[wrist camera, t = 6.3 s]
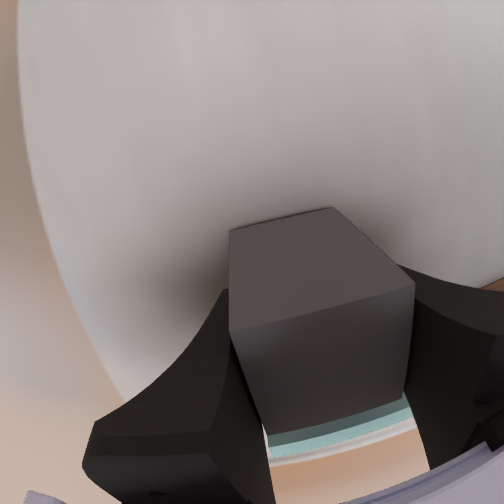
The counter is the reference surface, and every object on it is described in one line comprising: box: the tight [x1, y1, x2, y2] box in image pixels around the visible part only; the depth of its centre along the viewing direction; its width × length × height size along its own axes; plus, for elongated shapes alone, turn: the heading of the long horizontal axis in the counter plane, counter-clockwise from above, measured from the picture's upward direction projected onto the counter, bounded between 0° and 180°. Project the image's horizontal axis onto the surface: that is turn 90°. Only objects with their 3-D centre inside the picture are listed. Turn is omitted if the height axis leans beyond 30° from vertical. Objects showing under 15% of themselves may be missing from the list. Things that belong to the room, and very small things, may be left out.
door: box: [267, 391, 413, 458], centre depth 13 cm, size 10×2×5 cm, turn 103°
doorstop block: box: [229, 207, 415, 436], centre depth 10 cm, size 4×4×6 cm
